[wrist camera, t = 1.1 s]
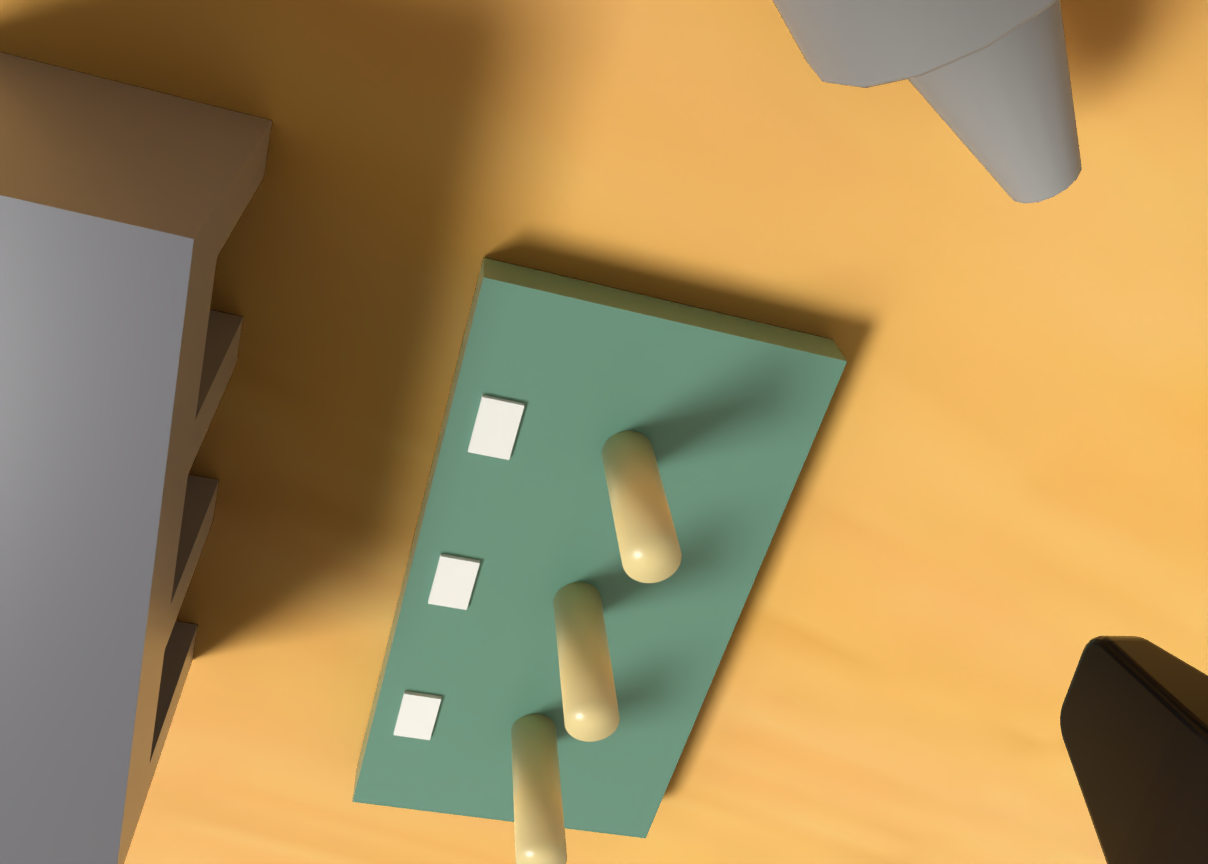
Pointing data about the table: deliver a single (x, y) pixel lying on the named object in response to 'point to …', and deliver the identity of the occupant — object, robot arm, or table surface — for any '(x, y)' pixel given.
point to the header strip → (584, 552)
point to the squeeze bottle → (961, 74)
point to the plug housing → (104, 435)
